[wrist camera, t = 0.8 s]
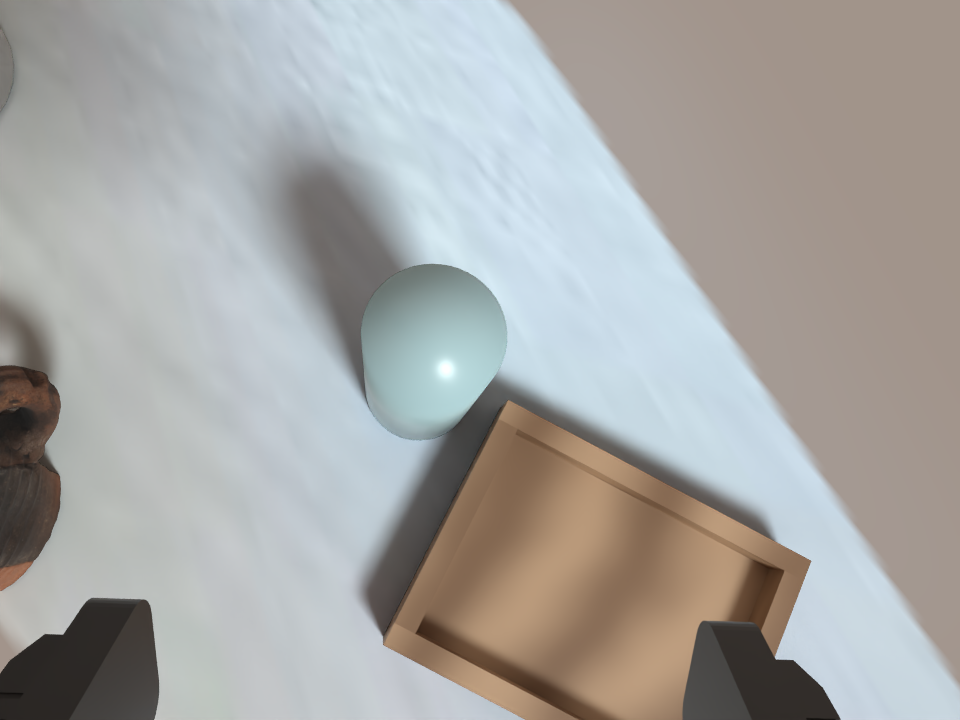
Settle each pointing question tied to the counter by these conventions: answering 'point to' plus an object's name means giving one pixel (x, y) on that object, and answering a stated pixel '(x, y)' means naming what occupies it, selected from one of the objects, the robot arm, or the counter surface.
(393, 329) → the pale green capsule
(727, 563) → the tray
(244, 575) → the counter surface
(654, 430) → the counter surface
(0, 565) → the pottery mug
